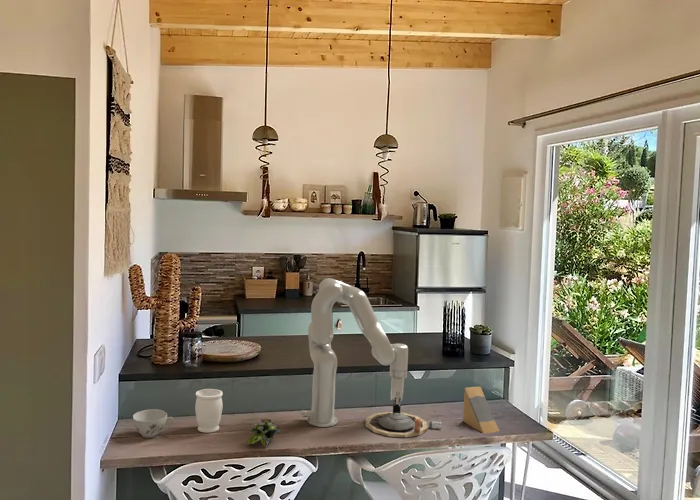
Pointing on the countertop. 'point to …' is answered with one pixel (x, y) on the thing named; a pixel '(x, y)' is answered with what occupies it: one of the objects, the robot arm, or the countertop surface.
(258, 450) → the countertop surface
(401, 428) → the flying saucer
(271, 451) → the countertop surface
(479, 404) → the sandwich container
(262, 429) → the green leafy cluster
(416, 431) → the turntable ring
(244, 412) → the countertop surface
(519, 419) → the countertop surface
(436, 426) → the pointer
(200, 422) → the jar
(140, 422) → the teacup
